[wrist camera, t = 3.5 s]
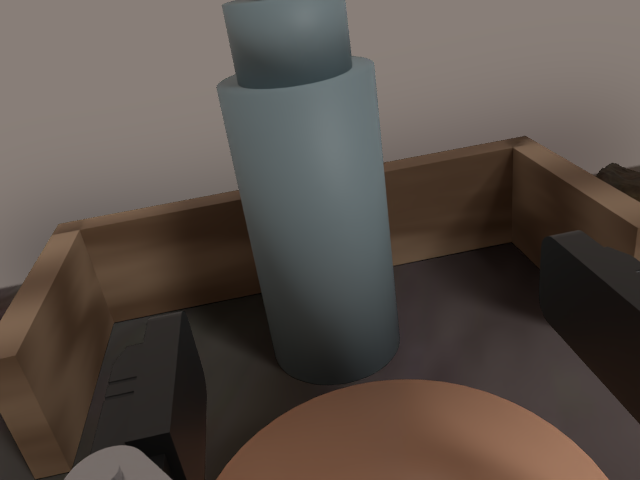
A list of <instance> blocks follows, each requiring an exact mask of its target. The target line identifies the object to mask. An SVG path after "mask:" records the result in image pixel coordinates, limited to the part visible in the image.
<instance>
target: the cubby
mask: <svg viewBox="0 0 640 480" xmlns="http://www.w3.org/2000/svg"><path fill="white" fill-rule="evenodd" d="M383 165H384V175H385V186H386V197H387V208H388V218H389V229H390V240H391V251H392V261H393V266H395V265H400V264H405V263H410V262H415V261H420V260H425V259H430V258H434V257H439V256H444V255H449V254H454V253H459V252H464V251H469V250H474V249H479V248H484V247H489V246H494V245H498V244H503V243H508V242H512V243H513V244H514V245H515V246H516V247H518V248H519V249H520V250H521V251H522V252H523V253H524V254H525V255H526V256H527V257H528V258H529V259H530V260H531V261H532V262H533V263H534V264H535V265H536V266H537V267H538V268H539V269H540V259H541V244H542V241H543V239H544V238H545V237H547V236H552V235H557V234H561V233H566V232H571V231H576V230H580V231H583V232H584V233H586V234H587V235H588V236H590V237H591V238H592V239H594V240H595V241H596V242H598V243H599V244H600V245H602V246H603V247H607V246H608V247H611V248H613V249H616V250H618V251H621V252H624V253H626V254H629V255H632V256H633V257H634V258H636V259H637V260H638V261H640V202H638V201H637V200H635V199H633V198H631V197H630V196H628V195H626V194H625V193H623V192H621V191H619V190H618V189H616V188H614V187H613V186H611V185H609V184H607V183H606V182H604V181H602V180H600V179H599V178H597V177H595V176H594V175H592V174H590V173H588V172H586V171H585V170H583V169H582V168H580V167H578V166H576V165H574V164H573V163H571V162H569V161H568V160H566V159H564V158H563V157H561V156H559V155H557V154H556V153H554V152H552V151H551V150H549V149H547V148H545V147H543V146H542V145H540V144H538V143H537V142H535V141H533V140H532V139H530V138H528V137H526V136H523V137H517V138H512V139H507V140H501V141H496V142H491V143H485V144H480V145H475V146H470V147H464V148H459V149H453V150H448V151H443V152H438V153H432V154H427V155H422V156H417V157H411V158H406V159H401V160H395V161H390V162H385V163H383ZM257 293H261V288H260V284H259V279H258V274H257V270H256V265H255V261H254V256H253V252H252V247H251V243H250V238H249V233H248V229H247V224H246V220H245V215H244V211H243V206H242V202H241V197H240V192H239V190H236V191H231V192H226V193H220V194H215V195H210V196H204V197H199V198H195V199H189V200H183V201H178V202H173V203H168V204H162V205H157V206H151V207H146V208H141V209H136V210H131V211H125V212H121V213H115V214H109V215H104V216H99V217H93V218H88V219H83V220H77V221H72V222H67V223H62V224H58V226H57V228H56V229H55V231H54V233H53V234H52V236H51V238H50V239H49V241H48V243H47V244H46V246H45V248H44V249H43V251H42V253H41V254H40V256H39V257H38V259H37V261H36V262H35V264H34V266H33V268H32V269H31V271H30V272H29V274H28V276H27V278H26V279H25V281H24V282H23V284H22V286H21V287H20V289H19V291H18V292H17V294H16V296H15V297H14V299H13V301H12V302H11V304H10V306H9V307H8V309H7V311H6V312H5V314H4V316H3V317H2V319H1V321H0V413H1V415H2V417H3V419H4V421H5V423H6V425H7V427H8V428H9V430H10V432H11V434H12V436H13V438H14V440H15V442H16V444H17V446H18V448H19V449H20V451H21V453H22V455H23V457H24V459H25V461H26V463H27V465H28V467H29V468H30V470H31V472H32V474H33V476H34V478H35V479H39V478H44V477H48V476H53V475H57V474H62V473H66V472H70V471H71V470H72V467H73V463H74V460H75V456H76V453H77V449H78V446H79V442H80V439H81V435H82V432H83V428H84V425H85V421H86V418H87V414H88V411H89V407H90V404H91V400H92V397H93V393H94V390H95V386H96V383H97V380H98V376H99V373H100V369H101V366H102V362H103V359H104V355H105V352H106V348H107V345H108V341H109V338H110V334H111V331H112V327H113V324H114V323H115V322H120V321H125V320H130V319H134V318H139V317H144V316H149V315H154V314H159V313H164V312H169V311H174V310H179V309H184V308H189V307H194V306H198V305H203V304H208V303H213V302H218V301H223V300H228V299H233V298H238V297H243V296H248V295H253V294H257Z"/></svg>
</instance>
